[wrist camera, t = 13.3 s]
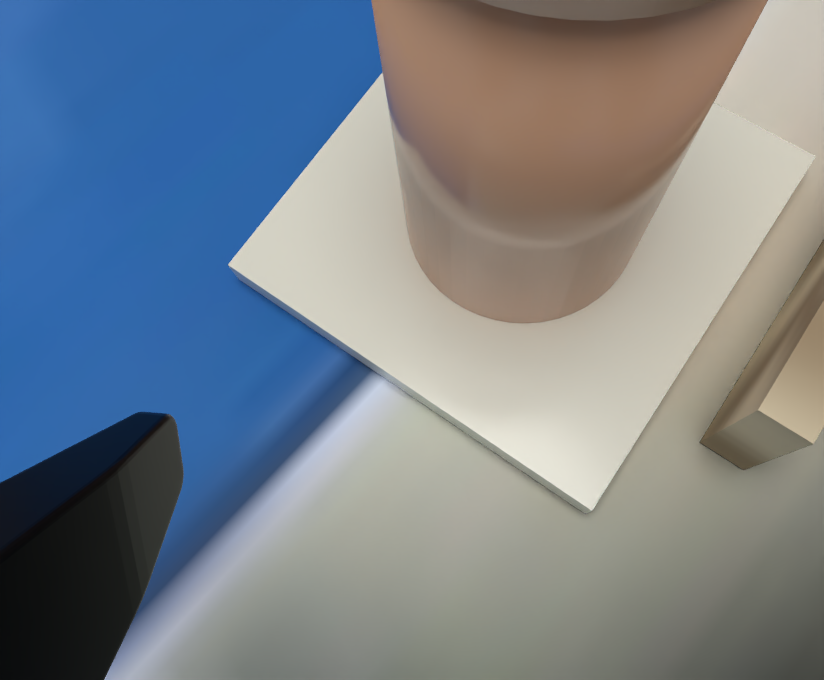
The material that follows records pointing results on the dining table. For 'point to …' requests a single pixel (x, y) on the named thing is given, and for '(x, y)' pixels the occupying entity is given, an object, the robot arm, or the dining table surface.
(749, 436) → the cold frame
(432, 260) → the terracotta pot
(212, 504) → the dining table surface
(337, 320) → the stone tile
